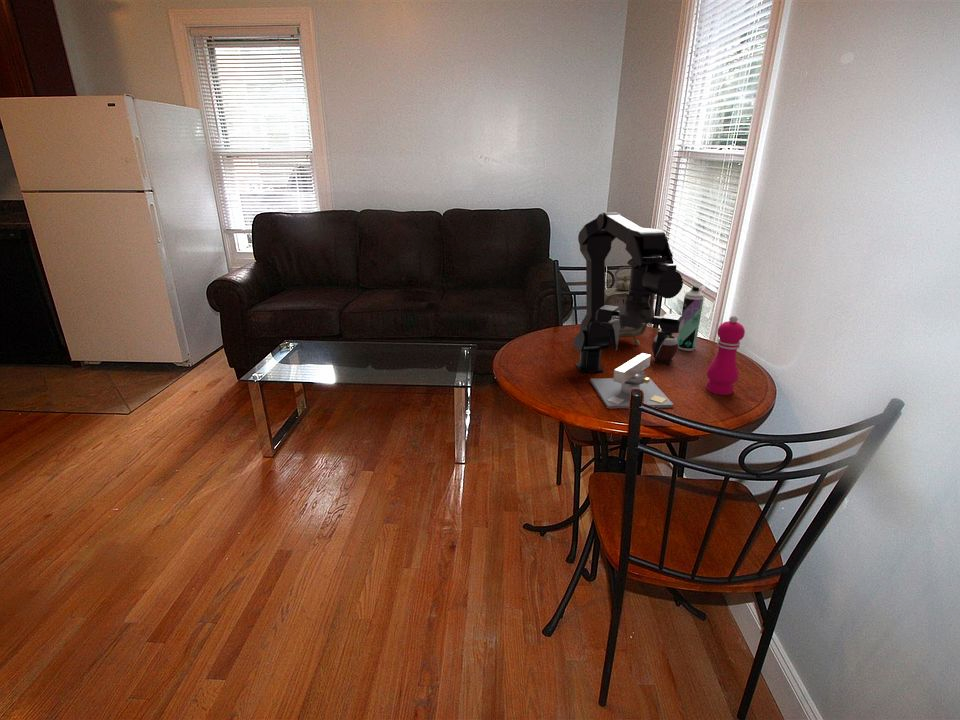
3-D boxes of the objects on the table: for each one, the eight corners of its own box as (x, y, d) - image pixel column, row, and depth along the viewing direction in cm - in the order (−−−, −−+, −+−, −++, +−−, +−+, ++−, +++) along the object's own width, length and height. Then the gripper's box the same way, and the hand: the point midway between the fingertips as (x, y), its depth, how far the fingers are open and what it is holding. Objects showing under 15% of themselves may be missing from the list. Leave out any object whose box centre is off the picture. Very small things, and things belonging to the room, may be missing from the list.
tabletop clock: (599, 347, 155) (606, 269, 146) (592, 338, 163) (599, 264, 154) (644, 347, 155) (654, 269, 146) (635, 337, 164) (644, 263, 154)
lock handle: (632, 367, 129) (634, 350, 128) (660, 374, 124) (663, 358, 123) (604, 384, 119) (606, 367, 117) (634, 393, 114) (636, 376, 112)
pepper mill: (725, 383, 129) (740, 311, 122) (740, 395, 122) (757, 320, 115) (699, 384, 129) (712, 311, 121) (712, 396, 122) (727, 320, 115)
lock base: (590, 381, 131) (591, 368, 129) (648, 380, 131) (650, 367, 130) (607, 409, 116) (609, 394, 114) (673, 407, 117) (675, 393, 115)
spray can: (679, 343, 158) (688, 283, 151) (696, 347, 155) (707, 285, 148) (674, 348, 154) (684, 286, 146) (692, 352, 151) (703, 289, 143)
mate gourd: (660, 368, 139) (667, 318, 134) (643, 358, 146) (649, 310, 141) (681, 364, 141) (689, 315, 136) (664, 355, 148) (671, 308, 143)
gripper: (589, 290, 107) (584, 356, 112) (678, 300, 97) (667, 372, 103) (606, 281, 116) (600, 342, 121) (689, 290, 106) (679, 356, 112)
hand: (634, 353), depth 114 cm, fingers open, 9 cm apart
